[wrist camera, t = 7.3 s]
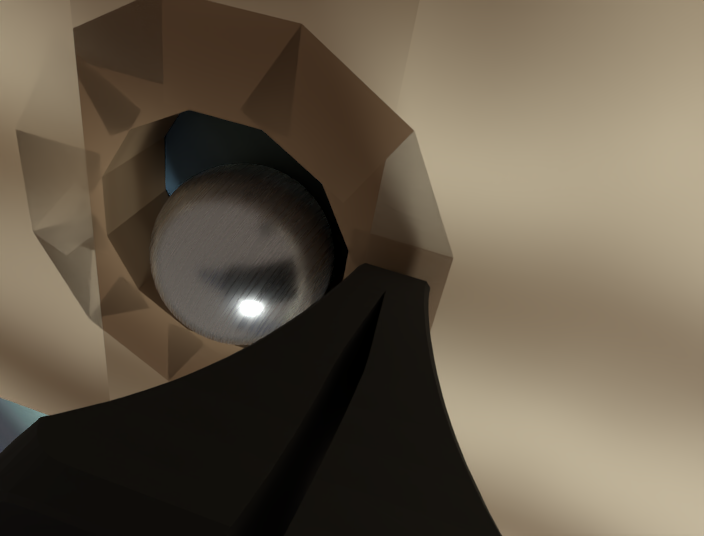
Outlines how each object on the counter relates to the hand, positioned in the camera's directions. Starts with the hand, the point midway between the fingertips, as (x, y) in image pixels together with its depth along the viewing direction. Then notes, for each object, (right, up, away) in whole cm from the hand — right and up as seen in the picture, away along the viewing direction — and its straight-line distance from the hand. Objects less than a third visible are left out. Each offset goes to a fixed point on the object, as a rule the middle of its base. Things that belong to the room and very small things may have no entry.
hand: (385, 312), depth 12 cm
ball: (-3, +1, +2) cm, 4 cm away
